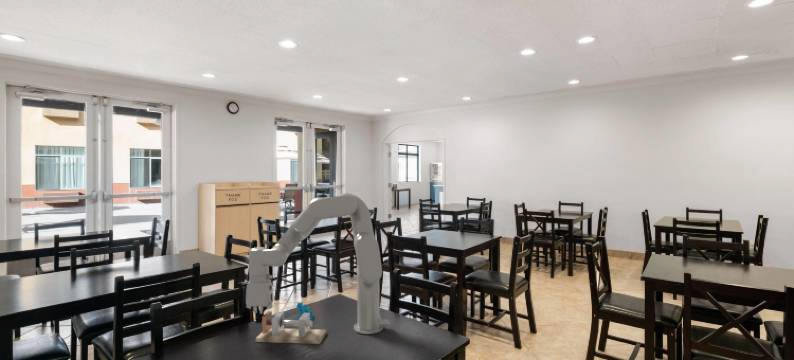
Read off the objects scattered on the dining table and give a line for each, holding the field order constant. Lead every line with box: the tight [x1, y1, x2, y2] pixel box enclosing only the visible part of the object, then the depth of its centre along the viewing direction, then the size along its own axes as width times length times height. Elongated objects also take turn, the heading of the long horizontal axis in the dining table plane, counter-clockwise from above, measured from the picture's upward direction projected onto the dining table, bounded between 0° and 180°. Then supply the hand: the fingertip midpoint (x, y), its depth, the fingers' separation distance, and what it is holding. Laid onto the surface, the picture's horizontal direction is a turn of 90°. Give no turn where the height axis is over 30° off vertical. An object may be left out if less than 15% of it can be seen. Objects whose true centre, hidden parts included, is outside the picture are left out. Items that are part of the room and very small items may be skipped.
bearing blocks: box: [272, 311, 311, 338], centre depth 160 cm, size 14×7×8 cm, turn 86°
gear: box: [296, 301, 314, 321], centre depth 180 cm, size 11×6×10 cm
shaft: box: [261, 310, 314, 334], centre depth 160 cm, size 20×6×7 cm, turn 86°
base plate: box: [255, 328, 327, 345], centre depth 160 cm, size 26×10×2 cm, turn 86°
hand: (259, 322), depth 161 cm, fingers closed
